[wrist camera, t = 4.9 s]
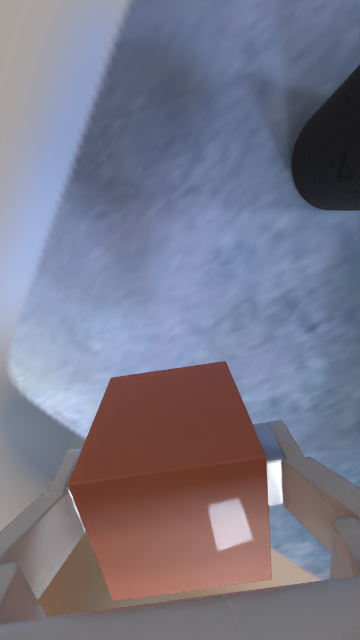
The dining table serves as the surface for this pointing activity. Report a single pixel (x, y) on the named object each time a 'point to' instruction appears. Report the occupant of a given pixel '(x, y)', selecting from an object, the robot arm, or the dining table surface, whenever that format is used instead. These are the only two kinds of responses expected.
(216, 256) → the dining table surface
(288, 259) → the dining table surface
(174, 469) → the block
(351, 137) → the drinking cup
